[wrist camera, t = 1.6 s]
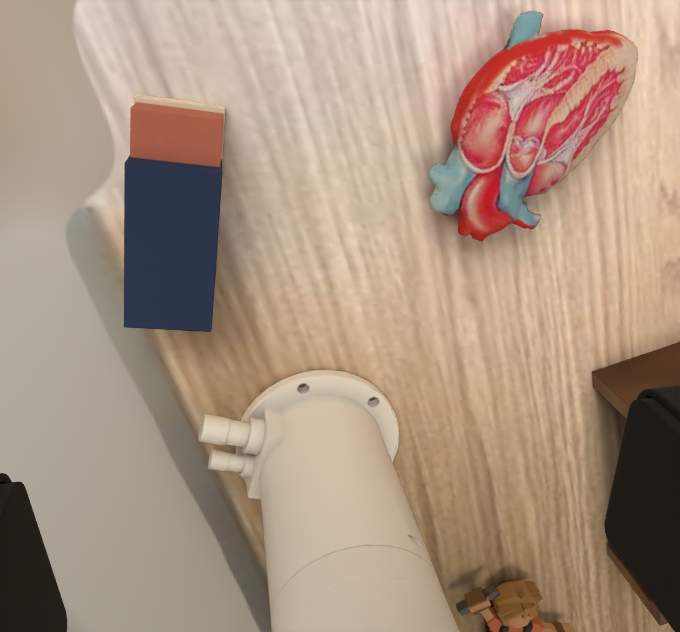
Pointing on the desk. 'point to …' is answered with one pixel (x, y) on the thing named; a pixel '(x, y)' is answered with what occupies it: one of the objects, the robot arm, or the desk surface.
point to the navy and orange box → (172, 213)
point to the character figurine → (510, 608)
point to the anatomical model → (530, 122)
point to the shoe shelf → (621, 390)
